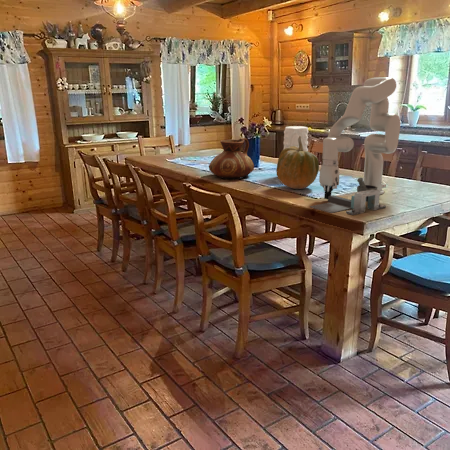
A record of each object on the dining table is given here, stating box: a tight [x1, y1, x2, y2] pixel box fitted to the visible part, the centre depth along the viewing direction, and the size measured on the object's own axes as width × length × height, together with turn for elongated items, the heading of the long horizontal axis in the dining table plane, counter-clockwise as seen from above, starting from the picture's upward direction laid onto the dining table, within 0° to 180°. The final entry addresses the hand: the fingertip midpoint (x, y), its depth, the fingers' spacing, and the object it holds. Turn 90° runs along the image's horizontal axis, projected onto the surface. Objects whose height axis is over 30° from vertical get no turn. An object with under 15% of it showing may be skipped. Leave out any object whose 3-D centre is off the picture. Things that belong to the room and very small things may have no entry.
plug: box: [350, 194, 367, 210], centre depth 209 cm, size 4×6×6 cm
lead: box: [327, 194, 351, 207], centre depth 218 cm, size 3×16×3 cm, turn 31°
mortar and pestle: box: [356, 177, 377, 203], centre depth 224 cm, size 11×9×12 cm
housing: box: [345, 189, 386, 216], centre depth 205 cm, size 22×4×9 cm, turn 123°
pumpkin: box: [275, 136, 320, 190], centre depth 252 cm, size 23×26×30 cm
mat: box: [309, 202, 353, 214], centre depth 212 cm, size 14×14×1 cm
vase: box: [282, 125, 310, 152], centre depth 289 cm, size 17×16×32 cm
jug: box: [208, 137, 255, 180], centre depth 291 cm, size 30×30×25 cm
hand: (327, 198), depth 226 cm, fingers closed
